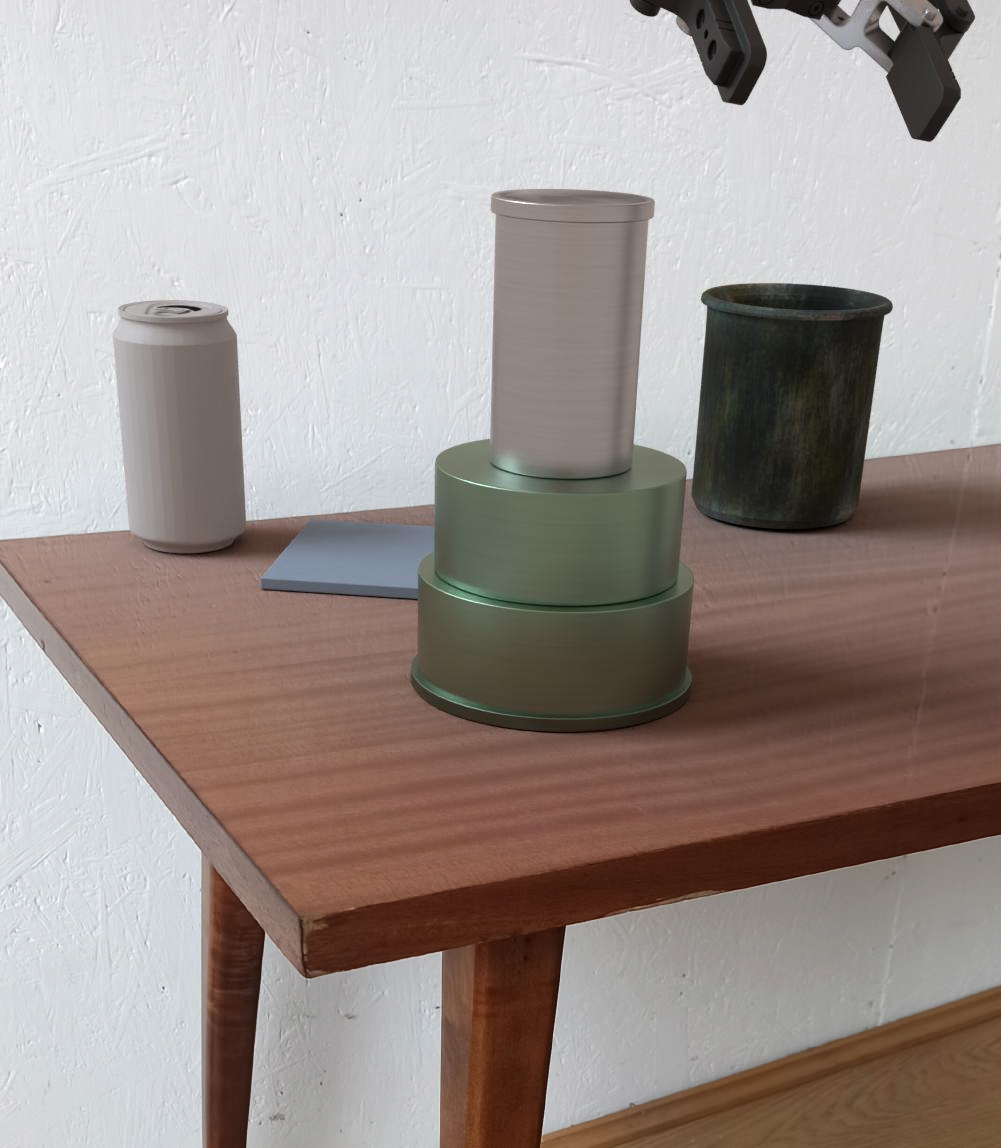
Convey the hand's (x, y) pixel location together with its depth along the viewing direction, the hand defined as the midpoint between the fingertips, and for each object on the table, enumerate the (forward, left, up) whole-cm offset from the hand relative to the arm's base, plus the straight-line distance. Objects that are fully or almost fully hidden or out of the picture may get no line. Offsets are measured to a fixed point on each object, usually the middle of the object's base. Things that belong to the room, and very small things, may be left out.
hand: (845, 102), depth 64 cm
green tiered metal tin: (+10, -1, -23) cm, 25 cm away
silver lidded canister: (+10, -1, -13) cm, 17 cm away
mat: (+20, -18, -23) cm, 35 cm away
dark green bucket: (-1, -36, -23) cm, 42 cm away
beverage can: (+32, -20, -23) cm, 44 cm away
